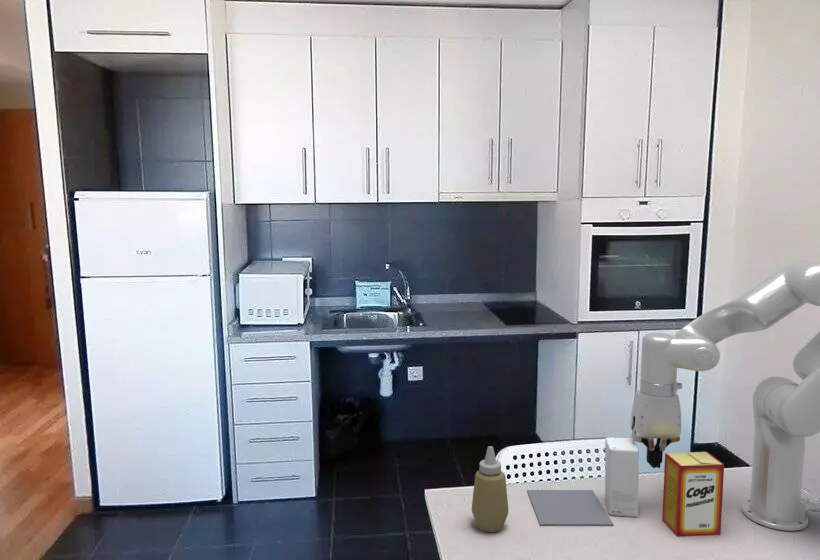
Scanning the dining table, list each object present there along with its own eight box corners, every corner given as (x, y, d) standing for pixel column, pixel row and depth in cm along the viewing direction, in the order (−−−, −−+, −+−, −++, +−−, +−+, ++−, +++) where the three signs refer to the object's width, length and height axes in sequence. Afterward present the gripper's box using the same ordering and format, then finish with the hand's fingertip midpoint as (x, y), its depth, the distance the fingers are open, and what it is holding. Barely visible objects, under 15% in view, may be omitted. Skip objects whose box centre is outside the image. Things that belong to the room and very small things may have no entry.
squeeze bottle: (512, 521, 132) (513, 443, 130) (502, 539, 125) (503, 457, 123) (478, 513, 136) (478, 437, 134) (466, 530, 128) (466, 451, 126)
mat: (592, 491, 146) (592, 489, 146) (613, 525, 130) (613, 524, 130) (527, 491, 146) (527, 489, 146) (540, 525, 130) (540, 524, 130)
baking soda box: (676, 536, 126) (680, 464, 124) (662, 520, 132) (665, 451, 130) (720, 534, 126) (724, 462, 124) (703, 519, 133) (707, 450, 131)
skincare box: (638, 518, 133) (640, 451, 131) (607, 515, 134) (609, 449, 133) (631, 500, 141) (634, 437, 139) (602, 498, 143) (604, 435, 141)
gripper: (684, 383, 138) (679, 459, 140) (619, 383, 138) (616, 458, 140) (698, 393, 130) (694, 473, 133) (630, 392, 131) (626, 472, 133)
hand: (654, 465), depth 136 cm, fingers closed
